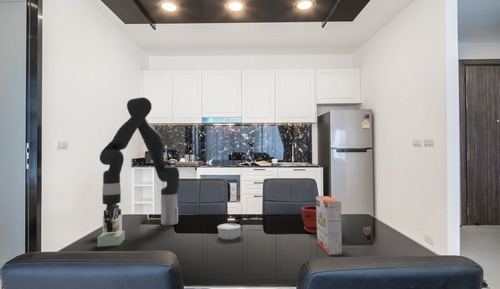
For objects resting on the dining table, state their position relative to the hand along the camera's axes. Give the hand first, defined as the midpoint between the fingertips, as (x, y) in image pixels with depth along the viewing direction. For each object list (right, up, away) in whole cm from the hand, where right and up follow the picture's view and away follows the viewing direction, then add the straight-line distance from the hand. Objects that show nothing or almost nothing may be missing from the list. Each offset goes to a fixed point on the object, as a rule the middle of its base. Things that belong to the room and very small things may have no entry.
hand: (111, 229), depth 129 cm
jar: (-7, -7, +15) cm, 18 cm away
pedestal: (0, -6, 0) cm, 6 cm away
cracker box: (+96, -4, -13) cm, 97 cm away
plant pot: (+97, -5, +14) cm, 98 cm away
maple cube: (0, -1, 0) cm, 1 cm away
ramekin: (+54, -6, +6) cm, 54 cm away
